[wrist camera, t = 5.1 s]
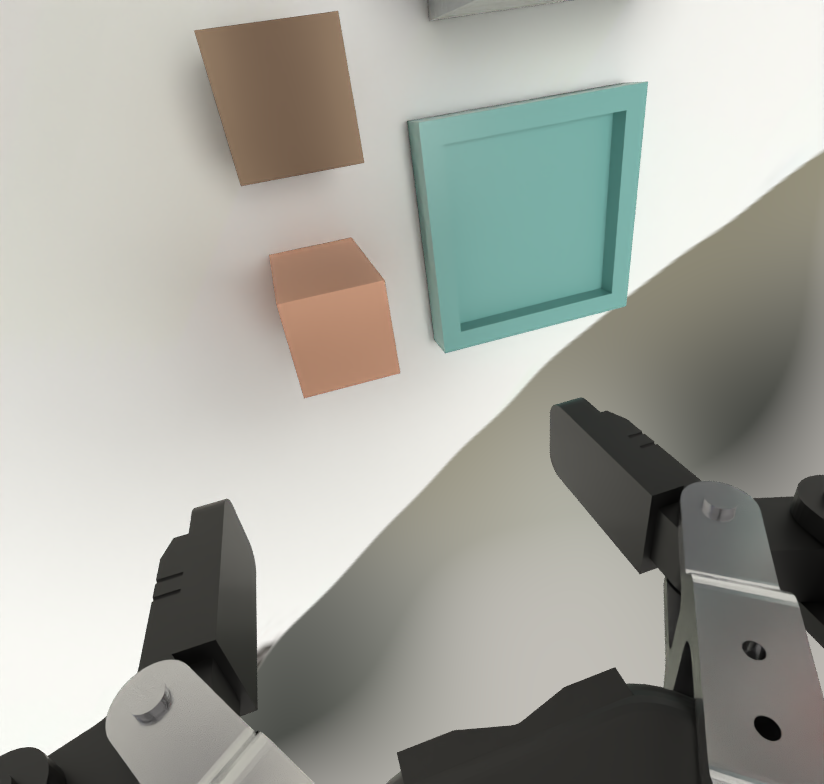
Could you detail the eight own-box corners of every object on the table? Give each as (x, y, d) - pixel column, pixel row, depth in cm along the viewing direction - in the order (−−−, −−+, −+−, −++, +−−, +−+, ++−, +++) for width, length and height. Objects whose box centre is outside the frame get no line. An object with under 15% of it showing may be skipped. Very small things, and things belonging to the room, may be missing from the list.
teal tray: (434, 339, 28) (445, 353, 27) (407, 121, 22) (418, 122, 21) (607, 295, 30) (626, 305, 29) (623, 83, 24) (647, 81, 23)
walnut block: (242, 163, 22) (241, 186, 16) (209, 52, 19) (194, 30, 14) (333, 147, 22) (364, 162, 16) (311, 37, 20) (337, 10, 14)
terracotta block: (291, 331, 26) (304, 398, 20) (268, 255, 24) (276, 304, 18) (366, 313, 26) (400, 373, 21) (351, 237, 24) (384, 280, 18)
